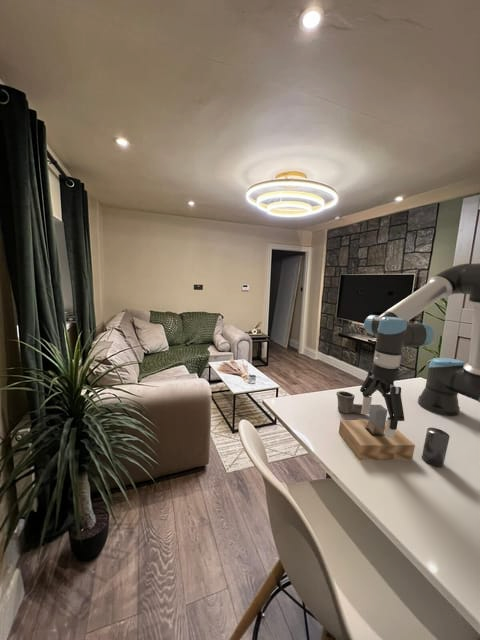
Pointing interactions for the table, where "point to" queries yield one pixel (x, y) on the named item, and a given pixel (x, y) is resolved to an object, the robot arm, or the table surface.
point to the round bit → (435, 447)
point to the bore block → (374, 442)
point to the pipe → (347, 403)
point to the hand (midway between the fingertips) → (376, 424)
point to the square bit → (377, 420)
